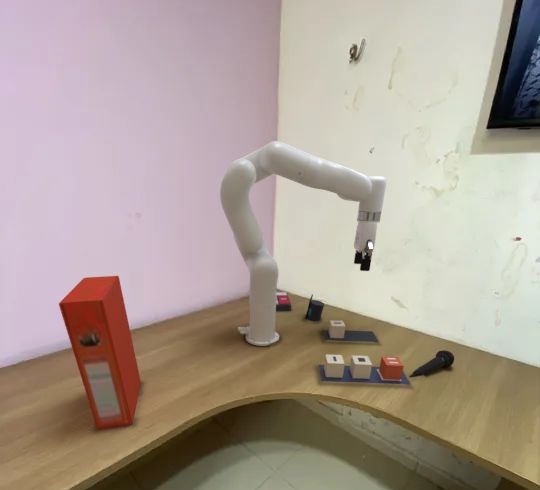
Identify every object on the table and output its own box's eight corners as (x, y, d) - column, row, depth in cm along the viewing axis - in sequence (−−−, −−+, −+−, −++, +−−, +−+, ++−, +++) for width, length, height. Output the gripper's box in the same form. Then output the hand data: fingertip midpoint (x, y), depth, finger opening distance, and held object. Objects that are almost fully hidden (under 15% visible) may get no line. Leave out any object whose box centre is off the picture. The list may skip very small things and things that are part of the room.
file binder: (96, 429, 73) (58, 302, 59) (110, 386, 88) (83, 277, 74) (132, 424, 75) (104, 299, 61) (141, 383, 90) (120, 275, 76)
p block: (352, 378, 92) (355, 363, 90) (349, 369, 97) (351, 355, 95) (369, 378, 92) (372, 364, 90) (365, 369, 97) (368, 355, 95)
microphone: (411, 390, 94) (452, 367, 102) (419, 379, 90) (461, 355, 98) (398, 377, 97) (439, 355, 105) (404, 366, 93) (447, 344, 101)
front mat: (321, 383, 91) (321, 380, 91) (318, 367, 99) (318, 364, 99) (410, 387, 91) (410, 384, 90) (399, 370, 99) (400, 367, 98)
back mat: (324, 342, 115) (324, 340, 114) (321, 331, 123) (321, 329, 122) (378, 344, 114) (378, 342, 114) (372, 333, 122) (372, 331, 122)
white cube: (325, 377, 93) (327, 362, 90) (323, 368, 97) (325, 354, 95) (342, 377, 92) (344, 363, 90) (339, 368, 97) (341, 354, 95)
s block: (383, 379, 92) (386, 364, 90) (378, 370, 97) (381, 356, 94) (400, 379, 92) (404, 365, 90) (394, 370, 97) (398, 356, 94)
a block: (330, 337, 116) (331, 325, 114) (328, 332, 120) (329, 320, 118) (343, 338, 116) (345, 326, 114) (341, 332, 120) (343, 320, 118)
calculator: (267, 303, 139) (264, 291, 152) (266, 312, 141) (264, 299, 154) (291, 303, 140) (287, 291, 153) (290, 312, 142) (286, 299, 155)
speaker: (300, 319, 133) (304, 296, 128) (306, 315, 137) (311, 293, 132) (315, 325, 129) (320, 302, 124) (322, 321, 133) (327, 299, 129)
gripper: (352, 214, 112) (346, 261, 119) (363, 219, 96) (356, 273, 104) (373, 214, 112) (365, 261, 119) (388, 220, 96) (378, 274, 104)
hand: (361, 267), depth 112 cm, fingers open, 9 cm apart
